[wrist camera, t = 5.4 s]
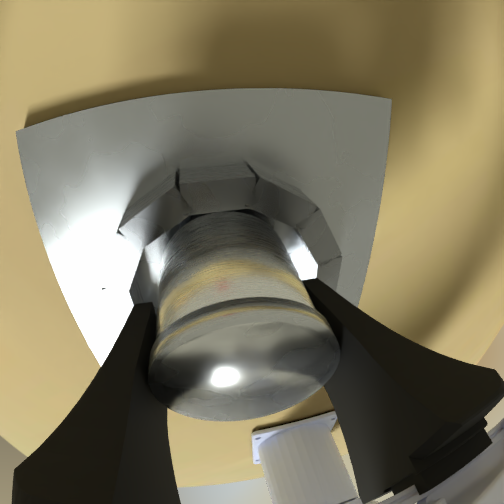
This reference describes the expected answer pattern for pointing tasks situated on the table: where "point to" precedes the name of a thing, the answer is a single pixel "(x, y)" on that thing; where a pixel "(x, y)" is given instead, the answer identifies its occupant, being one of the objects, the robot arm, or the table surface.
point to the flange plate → (203, 187)
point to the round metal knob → (235, 324)
